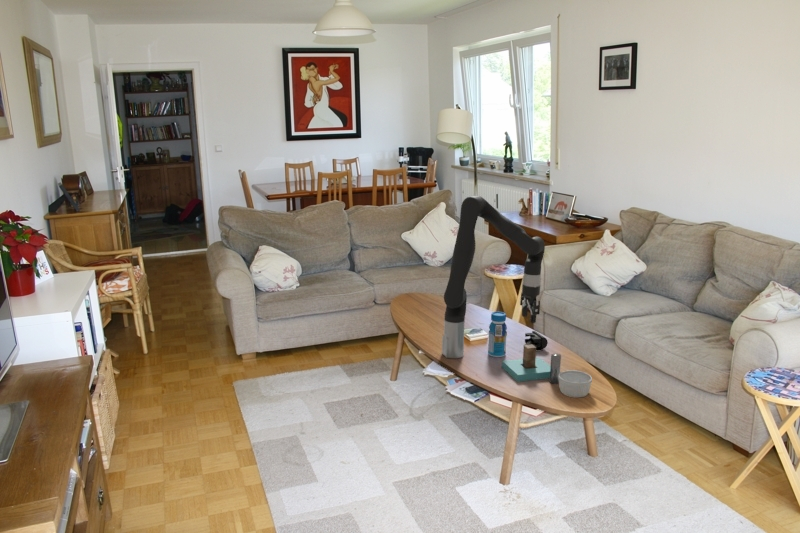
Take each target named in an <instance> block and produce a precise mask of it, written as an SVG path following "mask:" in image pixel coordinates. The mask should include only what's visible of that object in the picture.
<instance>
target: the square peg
mask: <svg viewBox="0 0 800 533" xmlns="http://www.w3.org/2000/svg"><path fill="white" fill-rule="evenodd" d="M522 350H523V351H522V354H523V355H522V359H523V367H524V368H525V369H530V368H535V360H536V358H537V355H536V354H537V351H536V347H535V346H534V345H532V344H531V345H525V344H524V345H523V349H522Z"/></svg>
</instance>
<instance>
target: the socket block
mask: <svg viewBox="0 0 800 533" xmlns="http://www.w3.org/2000/svg"><path fill="white" fill-rule="evenodd" d="M550 366H551V364H549V363H548V362H546V361H545V360H543V359H542V358H541V357H539V356H538V357H537V356H536V360H535V368H530V369H525V368H524V367H523V358H519V359H510V360H502V361H501V368H502V369H503V370H505V372H506V373H508V374H509V376H511V377H512V378H513V380H515V381H516V382H526V381H536V380H545V379H550Z"/></svg>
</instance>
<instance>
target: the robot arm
mask: <svg viewBox="0 0 800 533" xmlns="http://www.w3.org/2000/svg"><path fill="white" fill-rule="evenodd" d="M478 218H482V219H483V220H485V221H487V222H489V223H490V224H491V225H492V226H493V227H494V228H495V230H497V231H498V232H499V233H500V234H501V235H503V237H505V238H507V239H508V240H510V241H511V242H513V243H514V244H515V245H516V246H517V247H518V248H519V249H520V250H521V251H522V252H524V253H525V254H526V255H527V258H526V260H525V262H524V266H523V268H524V270H523V276H522V289H521V292H520V299H519V300H520V301H519V305H520V306H521V308H522V309H521V310H522V311H521V316H522V317H523V318H524V317H525V318H526V317H527V316H528V313H529V312H528V310H529V311H530V320H529V322H530V323H531V324H536V322H537V315H540V311H541V310H540V309H541V301H540V300H538V299H537V297H538V296H540V294H541V280H542V278H541V276H542V275H541V274H542V262H543V258H544V254H545V249H546V245H545V244H546V243H545V241H544V240H543V238H541V237H540V236H533V237H531V236H530V235H528V234H527V232H526V230H525V229H524V228H523V227H521V226H520V225H519V224H517V223H516V222H514V221H512V220H510V219H509V218H507V217H506V216H505V215H504V214H502V213H501V212H500V211H498V210H497V209H496V208H494V207H493V205H492V204H490V203H489V202H488V201H487V200H486V199H485V198H484V197H483V196H482V195H471V196H467V197H466V198H464V199H463V201H462V203H461V206H460V215H459V223H458V224H459V225H458V230H457V234H456V240H455V244H454V247H453V252H452V258H451V264H450V265H451V266H450V274H449V277H448V282H447V284H446V287H445V291H444V295H443V302H444V304H445V305H446V307H445V312H444V322H443V324H444V326H443V328H444V329H443V330H444V332H443V334H442V343H441V354H442V355H443V356H444V357H445V358H446V359H460V358H463V357H464V352H465V351H464V348H465V345H464V344H465V320H466V313H467V312H466V311H467V299H468V298H467V296H468V295H467V294H468V293H467V291H466V289H465V284H466V282H467V281H466V280H467V278H468V274H469V272H470V269H471V267H472V264H473V261H474V257H475V253H476V235H475V230H476V225H477V221H478Z"/></svg>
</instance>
